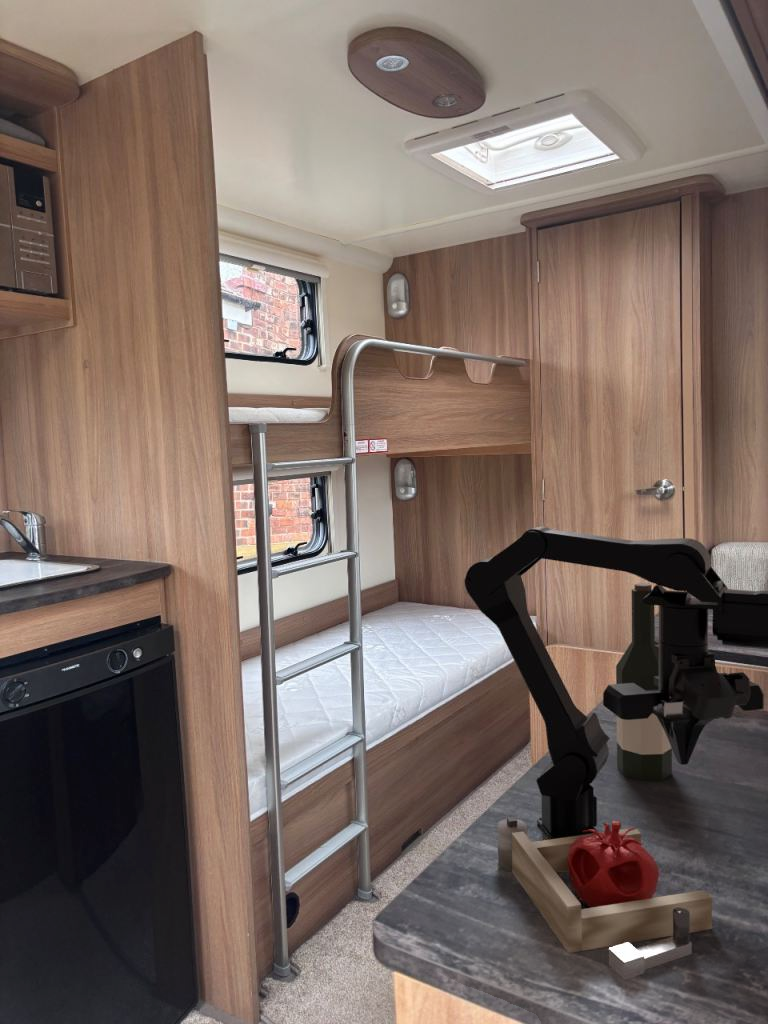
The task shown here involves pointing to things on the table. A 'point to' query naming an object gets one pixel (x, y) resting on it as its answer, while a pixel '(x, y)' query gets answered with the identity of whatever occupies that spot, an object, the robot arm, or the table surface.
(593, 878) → the pomegranate
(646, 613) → the wine bottle
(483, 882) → the table surface
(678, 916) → the crank handle
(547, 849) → the frame
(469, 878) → the table surface
